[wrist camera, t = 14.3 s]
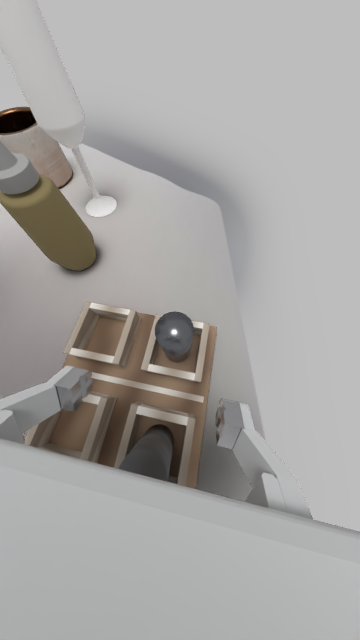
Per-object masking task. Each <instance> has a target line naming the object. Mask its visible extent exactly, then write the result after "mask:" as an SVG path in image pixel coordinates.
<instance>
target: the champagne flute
mask: <svg viewBox="0 0 360 640" xmlns="http://www.w3.org/2000/svg"><path fill="white" fill-rule="evenodd" d="M0 47H1V49H2V51H3V53H4V55H5V57H6V60H7V62H8V64H9V66H10V68H11V70H12V72H13V74H14V76H15V78H16V80H17V82H18V84H19V86H20V89H21V90H22V93H23V95H24V97H25V99H26V101H27V103H28V105H29V107H30V109H31V111H32V113H33V115H34V118H35V120H36V122H37V124H38V125H39V126H40V128H41V129H42V130H43V131H44V132H45V133H46V134H47V135H49V136H50V137H51V138H52V139H54V140H56V141H57V142H59V143H60V144H62V145H64V146H65V147H68V148H71V149H72V151H73V154H74V156H75V158H76V160H77V162H78V164H79V166H80V168H81V170H82V173H83V175H84V177H85V179H86V181H87V183H88V185H89V187H90V190H91V192H92V194H93V196H94V197H93V198H92V199H91V200H90V201H89V202H88V203H87V205H86V212H87V213H88V214H89V215H91V216H94V217H103V216H106V215H109V214H110V213H112V212H113V211H114V210H115V208H116V206H117V203H116V200H115V199H114V198H112V197H110V196H103V195H99V193H98V191H97V188H96V186H95V184H94V182H93V179H92V177H91V175H90V172H89V170H88V168H87V166H86V163H85V161H84V159H83V156H82V154H81V152H80V150H79V147H78V146H79V145H80V144H81V140H82V137H83V134H84V130H85V115H84V111H83V109H82V107H81V104H80V102H79V100H78V97H77V95H76V93H75V90H74V88H73V86H72V83H71V81H70V79H69V76H68V74H67V72H66V69H65V67H64V65H63V62H62V60H61V58H60V55H59V53H58V51H57V48H56V46H55V44H54V41H53V39H52V37H51V34H50V32H49V30H48V27H47V25H46V23H45V20H44V18H43V16H42V13H41V11H40V9H39V6H38V4H37V2H36V0H0Z"/></svg>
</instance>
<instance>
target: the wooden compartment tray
mask: <svg viewBox="0 0 360 640" xmlns="http://www.w3.org/2000/svg"><path fill="white" fill-rule="evenodd" d="M161 316H162V315H157V314H156V316H153V315H148V314H142V313H137V312H136V311H135V310H129V309H124V308H118V307H113V306H107V305H102V304H96V303H91V302H86V303H85V305H84V307H83V310H82V312H81V314H80V316H79V319H78V321H77V323H76V325H75V327H74V330H73V332H72V334H71V336H70V339H69V341H68V343H67V345H66V348H65V350H64V352H63V353H66V354H68V356H67V358H66V361H65V363H64V365H63V367H62V369H63V368H64V367H65V366H68V365H69V366H73V367H78V368H82V369H86V370H90V371H92V376H91V377H90V378H91V379H92V380H93V388H92V390H91V392H90V393H89V395H88V396H87V397H85V398H83V401H82V403H81V405H80V406H79V407H78V408H77V410H76V411H75V412H73V411H68V410H63V409H61V410H60V411H58V412H57V413H55V414H53V415H52V416H50V417H49V418H47V419H45V420H44V421H42V422H40V423H39V424H37V425H36V426H34V427H32V428H31V429H29V430H28V433H27V435H26V437H25V439H24V440H25V445H29V446H32V447H36V448H40V449H44V450H48V451H52V452H55V453H59V454H63V455H67V456H71V457H75V458H78V459H82V460H86V461H90V462H94V463H98V464H102V465H105V466H109V467H113V468H117V469H121V470H125V471H128V472H132V473H136V474H140V475H144V476H148V477H151V478H155V479H159V480H163V481H167V482H171V483H174V484H178V485H182V486H186V487H190V488H193V489H196V484H197V476H198V468H199V461H200V453H201V445H202V438H203V430H204V422H205V415H206V407H207V399H208V392H209V384H210V376H211V369H212V361H213V353H214V346H215V338H216V330H217V327H214V326H209V325H210V324H207V323H201V322H195V321H192V323H193V326H194V334H193V339H192V344H191V349H190V354H189V356H188V357H187V359H186V360H184V361H182V362H172V361H170V360H169V359H168V358H167V357H166V355H165V353H164V351H163V349H162V348H161V346H160V344H159V342H158V341H157V339H156V336H155V325H156V323H157V321H158V320H159V318H160V317H161Z"/></svg>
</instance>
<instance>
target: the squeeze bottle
mask: <svg viewBox="0 0 360 640" xmlns="http://www.w3.org/2000/svg"><path fill="white" fill-rule="evenodd" d="M0 203H1V204H2V205H3V207H4V208H5V209H6V210H7V211H8V212H9V214H10V215H11V216H12V217H13V218H14V219H15V220H16V222H17V223H18V224H19V225H20V226H21V227H22V229H23V230H24V231H25V232H26V233H27V234H28V236H29V237H30V238H31V239H32V240H33V241H34V243H35V244H36V245H37V246H38V247H39V248H40V250H41V251H42V252H43V253H44V254H45V255H46V256H47V257H48V258H49V259H50V260H51V261H53V262H55V263H58V264H60V265H62V266H64V267H66V268H68V269H70V270H74V271H79V270H83V269H86V268H88V267H89V266H91V265H92V264H93V262H94V261H95V259H96V250H95V245H94V240H93V236H92V234H91V232H90V230H89V229H88V228H87V226H86V225H85V224H84V222H83V221H82V220H81V218H80V217H79V216H78V214H77V213H76V212H75V210H74V209H73V208H72V206H71V205H70V204H69V202H68V201H67V200H66V198H65V197H64V195H63V194H62V193H61V191H60V190H59V189H58V187H57V186H56V185H55V183H54V182H53V181H52V180H51V179H49V178H48V177H46V176H43V175H40V174H38V172H37V170H36V169H35V168H34V166H33V165H32V163H31V162H30V160H29V159H28V158H27V157H26V156H24V155H23V154H18V153H11V152H10V151H9V150H8V149H7V148H6V147H5V146H4V145H3V143H2V142H1V141H0Z"/></svg>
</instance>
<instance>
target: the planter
mask: <svg viewBox="0 0 360 640" xmlns="http://www.w3.org/2000/svg"><path fill="white" fill-rule="evenodd" d="M0 141H1V142H2V143H3V145H4V146H5V147H6V148H7V149H8V150H9V151H10V152H11V153H18V154H23V155H24V156H26V157H27V158H28V159H29V160H30V162H31V163H32V165H33V166H34V168H35V169H36V170H37V172H38V174H40V175H43V176H46V177H48V178H49V179H51V180H52V181H53V182H54V183H55V185H56V186H57V187H58V188H60V187H62V186H64V185H65V184H66V183H67V182H68V181H69V180H70V178H71V176H72V169H71V166H70V164H69V162H68V160H67V159H66V157H65V155H64V153H63V151H62V149H61V147H60V145H59V143H58V142H57V141H56V140H54V139H52V138H51V137H50V136H49V135H47V134H46V133H45V132H44V131H43V130H42V129H41V128H40V126H39V125H38V124H37V122H36V120H35V118H34V115H33V113H32V111H31V109H30V107H16V108H11V109H7V110H4V111H1V112H0Z"/></svg>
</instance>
